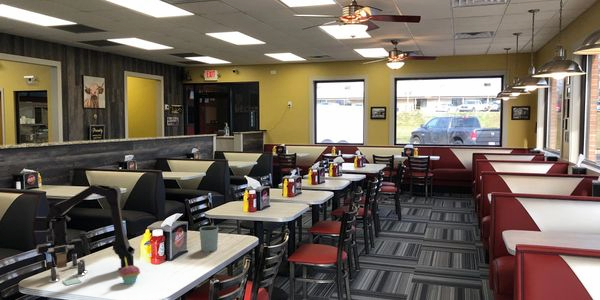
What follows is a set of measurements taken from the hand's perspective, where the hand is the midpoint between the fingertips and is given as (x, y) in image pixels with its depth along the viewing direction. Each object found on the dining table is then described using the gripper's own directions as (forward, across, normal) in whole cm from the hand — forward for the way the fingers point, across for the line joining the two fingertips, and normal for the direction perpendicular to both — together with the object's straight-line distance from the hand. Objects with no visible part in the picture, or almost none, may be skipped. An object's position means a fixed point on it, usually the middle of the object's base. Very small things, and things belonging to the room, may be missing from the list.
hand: (61, 263), depth 216 cm
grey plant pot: (+5, -70, +10) cm, 71 cm away
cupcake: (+5, -21, +33) cm, 39 cm away
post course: (+5, -1, +1) cm, 5 cm away
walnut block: (+1, 0, 0) cm, 1 cm away
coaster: (+4, -1, +16) cm, 17 cm away
